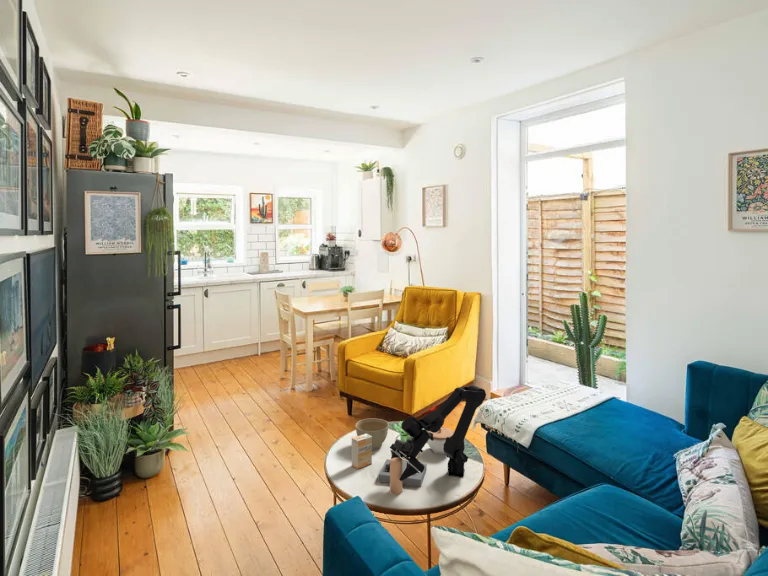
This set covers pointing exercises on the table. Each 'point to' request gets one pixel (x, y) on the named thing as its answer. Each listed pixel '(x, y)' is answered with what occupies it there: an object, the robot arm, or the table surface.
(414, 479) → the plate
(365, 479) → the table surface
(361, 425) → the planter bowl
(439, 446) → the lidded bowl
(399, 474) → the cylinder
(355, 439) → the supplement box
